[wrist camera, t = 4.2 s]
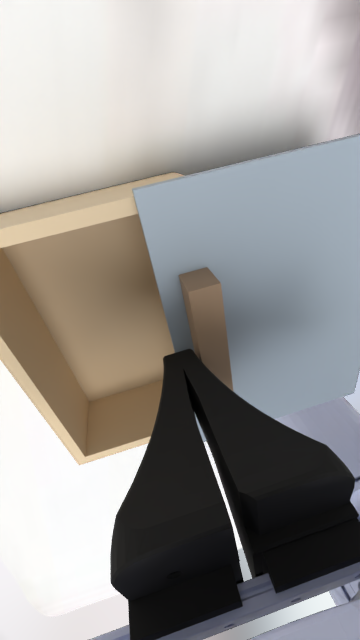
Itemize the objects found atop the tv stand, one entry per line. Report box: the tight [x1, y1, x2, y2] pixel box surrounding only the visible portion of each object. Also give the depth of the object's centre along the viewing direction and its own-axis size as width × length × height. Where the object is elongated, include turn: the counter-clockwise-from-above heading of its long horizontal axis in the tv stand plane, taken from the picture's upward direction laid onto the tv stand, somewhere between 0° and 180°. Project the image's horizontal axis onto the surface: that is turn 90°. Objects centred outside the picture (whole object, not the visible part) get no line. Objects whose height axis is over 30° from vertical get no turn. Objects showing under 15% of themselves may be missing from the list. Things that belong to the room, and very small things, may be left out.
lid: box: [132, 134, 360, 442], centre depth 13 cm, size 15×11×2 cm
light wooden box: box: [0, 172, 184, 465], centre depth 16 cm, size 14×10×5 cm
